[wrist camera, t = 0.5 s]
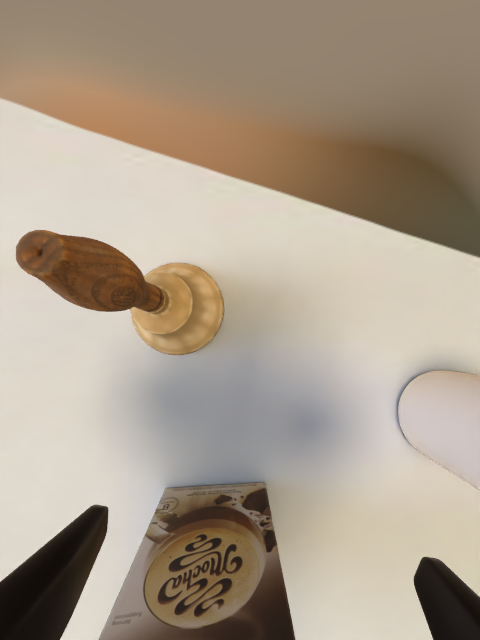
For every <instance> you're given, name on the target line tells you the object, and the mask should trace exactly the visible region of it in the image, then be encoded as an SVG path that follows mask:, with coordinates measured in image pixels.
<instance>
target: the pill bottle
mask: <svg viewBox="0 0 480 640" xmlns="http://www.w3.org/2000/svg"><path fill="white" fill-rule="evenodd" d="M398 416H399V422H400V426H401V429H402V431H403V433H404V435H405V437H406V438H407V440H408V441H409V442H410V443H411V445H412V446H413V447H414V448H416V449H417V450H418V451H419V452H420V453H422V454H423V455H424V456H426V457H427V458H429V459H431V460H432V461H434V462H435V463H437V464H439V465H440V466H442V467H443V468H445V469H446V470H448V471H450V472H451V473H453V474H454V475H456V476H458V477H459V478H461V479H462V480H464V481H465V482H467V483H469V484H470V485H472V486H473V487H475V488H476V489H478V490H480V376H478V375H472V374H466V373H460V372H454V371H444V370H438V371H430V372H427V373H424V374H422V375H420V376H418V377H416V378H415V379H414V380H412V381H411V382H410V383H409V384H408V386H407V387H406V388H405V390H404V391H403V393H402V396H401V398H400V402H399V408H398Z"/></svg>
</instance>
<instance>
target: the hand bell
mask: <svg viewBox="0 0 480 640" xmlns="http://www.w3.org/2000/svg"><path fill="white" fill-rule="evenodd" d="M16 260H17V262H18V264H19V266H20V267H21V268H22V269H23V270H24V271H26V272H27V273H28V274H30V275H32V276H34V277H36V278H38V279H39V280H41V281H42V282H44V283H45V284H46V285H47V286H48V287H50V288H51V289H52V290H53V291H54V292H56V293H57V294H59V295H60V296H61V297H63V298H64V299H66V300H67V301H69V302H71V303H73V304H75V305H78V306H81V307H84V308H87V309H91V310H96V311H106V312H114V311H123V310H127V309H130V311H131V315H132V320H133V324H134V326H135V329H136V331H137V332H138V334H139V335H140V337H141V338H142V339H143V340H144V341H145V342H146V343H147V344H148V345H149V346H151V347H152V348H154V349H155V350H157V351H160V352H162V353H166V354H171V355H183V354H188V353H192V352H195V351H197V350H199V349H201V348H202V347H204V346H205V345H207V344H208V343H209V342H210V341H211V340H212V339H213V337H214V336H215V335H216V333H217V332H218V330H219V328H220V326H221V323H222V319H223V314H224V304H223V298H222V294H221V291H220V289H219V287H218V285H217V284H216V282H215V281H214V280H213V279H212V277H211V276H210V275H208V274H207V273H206V272H205V271H203V270H202V269H200V268H198V267H196V266H193V265H190V264H185V263H170V264H165V265H162V266H160V267H158V268H156V269H154V270H152V271H151V272H149V273H148V274H147V275H146V276H143V274H142V273H141V271H140V269H139V268H138V267H137V266H136V265H135V264H134V262H133V261H131V260H130V259H129V258H128V257H127V256H126V255H124V254H123V253H121V252H120V251H119V250H117V249H116V248H114V247H112V246H110V245H108V244H106V243H104V242H101V241H98V240H94V239H90V238H85V237H76V236H66V235H60V234H56V233H53V232H50V231H46V230H35V231H31V232H29V233H27V234H26V235H24V236H23V237H22V238H21V239H20V241H19V243H18V244H17V246H16Z"/></svg>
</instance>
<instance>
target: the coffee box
mask: <svg viewBox="0 0 480 640" xmlns="http://www.w3.org/2000/svg"><path fill="white" fill-rule="evenodd" d="M99 640H295V636H294V630H293V625H292V619H291V614H290V609H289V604H288V599H287V593H286V588H285V583H284V578H283V573H282V568H281V563H280V558H279V552H278V547H277V542H276V537H275V532H274V527H273V522H272V517H271V511H270V506H269V501H268V495H267V489H266V484H265V483H246V484H230V485H214V486H198V487H182V488H167V489H165V490H164V492H163V495H162V497H161V499H160V502H159V504H158V506H157V509H156V511H155V513H154V516H153V518H152V520H151V522H150V525H149V527H148V529H147V532H146V534H145V536H144V538H143V540H142V543H141V545H140V547H139V549H138V552H137V554H136V556H135V558H134V561H133V563H132V565H131V567H130V570H129V572H128V574H127V577H126V579H125V581H124V583H123V586H122V588H121V590H120V592H119V595H118V597H117V599H116V601H115V604H114V606H113V608H112V610H111V613H110V615H109V617H108V619H107V622H106V624H105V626H104V629H103V631H102V633H101V635H100V638H99Z"/></svg>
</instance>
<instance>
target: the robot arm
mask: <svg viewBox="0 0 480 640" xmlns="http://www.w3.org/2000/svg"><path fill="white" fill-rule="evenodd" d="M107 524H108V507H106V506H101V505H93V506H91V507H90V508H88V509H87V510H86V511H85V512H84V513H82V514H81V515H80V516H79V517H78V518H76V519H75V520H74V521H73V522H72V523H70V524H69V525H68V526H67V527H66V528H64V529H63V530H62V531H61V532H60V533H58V534H57V535H56V536H55V537H54V538H52V539H51V540H50V541H49V542H48V543H46V544H45V545H44V546H43V547H42V548H41V549H39V550H38V551H37V552H36V553H35V554H33V555H32V556H31V557H30V558H29V559H27V560H26V561H25V562H24V563H23V564H21V565H20V566H19V567H18V568H17V569H15V570H14V571H13V572H12V573H11V574H9V575H8V576H7V577H6V578H5V579H3V580H2V581H1V582H0V640H60V638H61V636H62V634H63V632H64V631H65V628H66V626H67V624H68V622H69V620H70V618H71V616H72V614H73V612H74V609H75V607H76V605H77V603H78V600H79V598H80V595H81V593H82V591H83V588H84V586H85V584H86V581H87V579H88V577H89V574H90V572H91V570H92V567H93V565H94V563H95V560H96V558H97V555H98V553H99V551H100V548H101V546H102V544H103V541H104V539H105V536H106V533H107ZM414 585H415V589H416V592H417V595H418V598H419V601H420V603H421V606H422V609H423V612H424V615H425V617H426V620H427V623H428V626H429V629H430V631H431V634H432V637H433V640H480V597H479V596H478V595H477V594H476V593H475V592H474V591H472V590H471V589H470V588H469V587H468V586H467V585H466V584H465V583H464V582H463V581H462V580H461V579H460V578H459V577H458V576H457V575H456V574H455V573H454V572H452V571H451V570H450V569H449V568H448V567H447V566H446V565H445V564H444V563H443V562H442V561H440V560H439V559H436V558H430V557H423V558H422V559H421V561H420V564H419V566H418V569H417V571H416V573H415V576H414Z"/></svg>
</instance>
